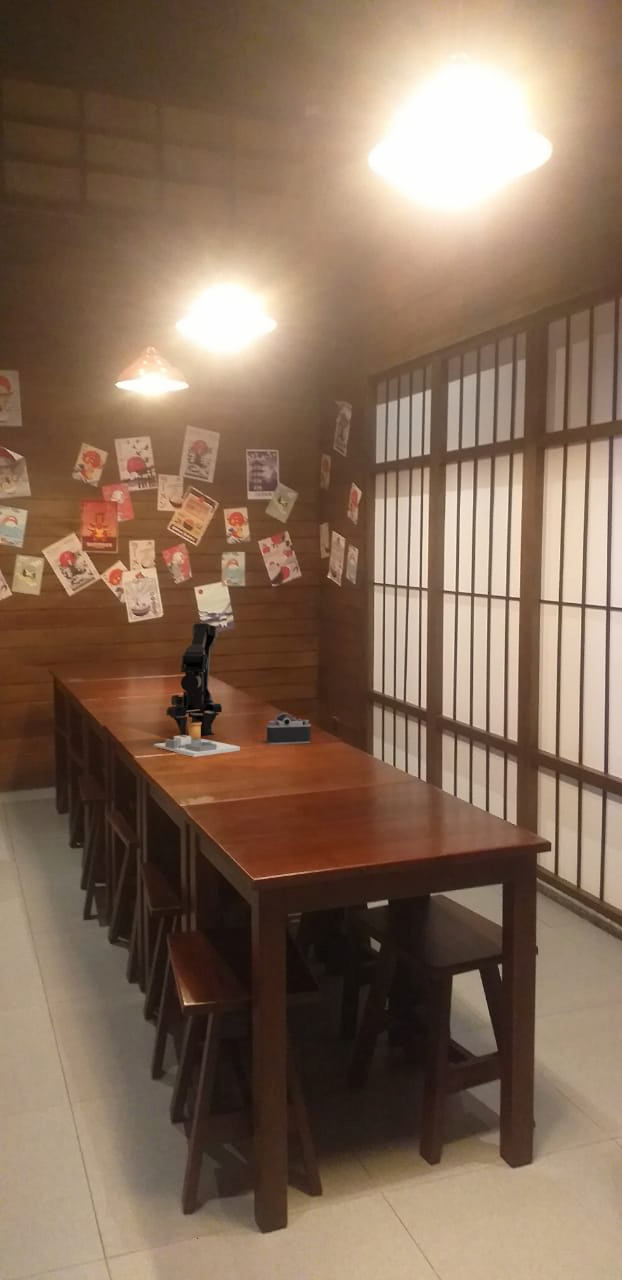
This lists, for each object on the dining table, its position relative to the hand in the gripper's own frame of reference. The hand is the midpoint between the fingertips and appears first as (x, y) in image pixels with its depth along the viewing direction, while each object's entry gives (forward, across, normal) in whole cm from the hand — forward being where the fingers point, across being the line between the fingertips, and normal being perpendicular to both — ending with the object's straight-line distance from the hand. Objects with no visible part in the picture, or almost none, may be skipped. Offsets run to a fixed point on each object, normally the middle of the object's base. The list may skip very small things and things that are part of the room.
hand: (194, 735), depth 325 cm
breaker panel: (+3, +5, +8) cm, 10 cm away
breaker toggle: (+2, +9, +6) cm, 11 cm away
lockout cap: (+2, 0, 0) cm, 2 cm away
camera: (+3, -27, +16) cm, 31 cm away
